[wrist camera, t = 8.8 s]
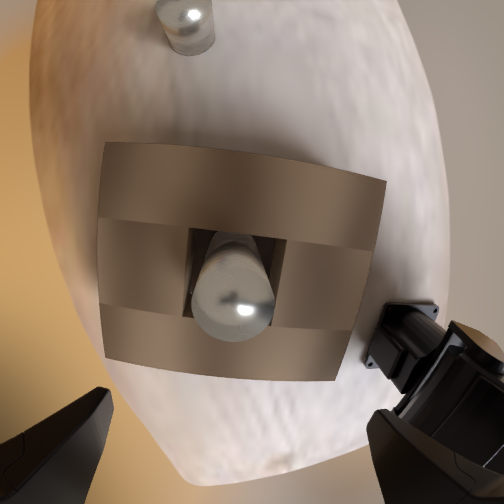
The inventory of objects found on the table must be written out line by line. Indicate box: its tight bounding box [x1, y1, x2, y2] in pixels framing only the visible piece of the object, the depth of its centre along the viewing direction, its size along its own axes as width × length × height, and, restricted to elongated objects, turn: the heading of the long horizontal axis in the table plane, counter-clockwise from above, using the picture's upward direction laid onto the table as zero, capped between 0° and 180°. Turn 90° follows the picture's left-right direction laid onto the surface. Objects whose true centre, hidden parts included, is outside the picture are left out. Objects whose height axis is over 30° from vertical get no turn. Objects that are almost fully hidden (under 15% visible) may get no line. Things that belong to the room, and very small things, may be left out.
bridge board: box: [97, 142, 387, 381], centre depth 16 cm, size 14×12×6 cm
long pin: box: [191, 231, 275, 342], centre depth 15 cm, size 3×3×9 cm
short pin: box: [155, 0, 215, 56], centre depth 13 cm, size 3×3×5 cm
